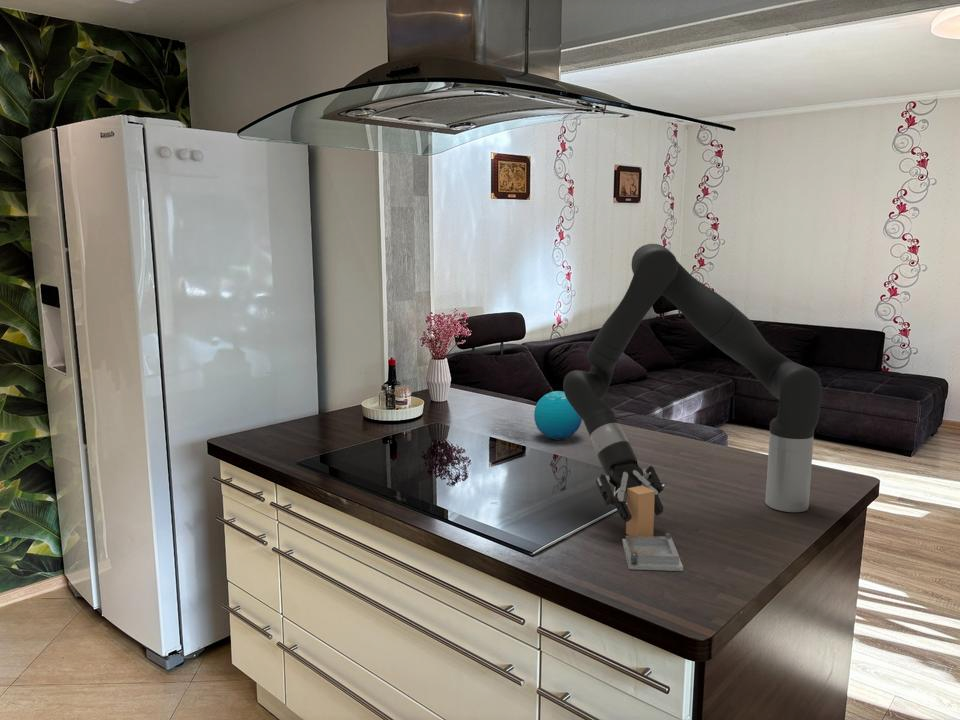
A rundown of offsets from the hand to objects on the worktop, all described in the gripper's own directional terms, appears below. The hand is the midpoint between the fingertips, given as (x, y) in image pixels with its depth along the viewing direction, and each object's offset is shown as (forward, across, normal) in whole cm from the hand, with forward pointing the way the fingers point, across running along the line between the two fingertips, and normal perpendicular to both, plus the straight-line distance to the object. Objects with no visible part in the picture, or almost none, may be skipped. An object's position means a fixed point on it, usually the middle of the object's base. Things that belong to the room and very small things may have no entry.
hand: (644, 516), depth 147 cm
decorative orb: (-47, +22, +54) cm, 75 cm away
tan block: (+2, 0, +4) cm, 5 cm away
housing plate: (+9, -4, -2) cm, 10 cm away
